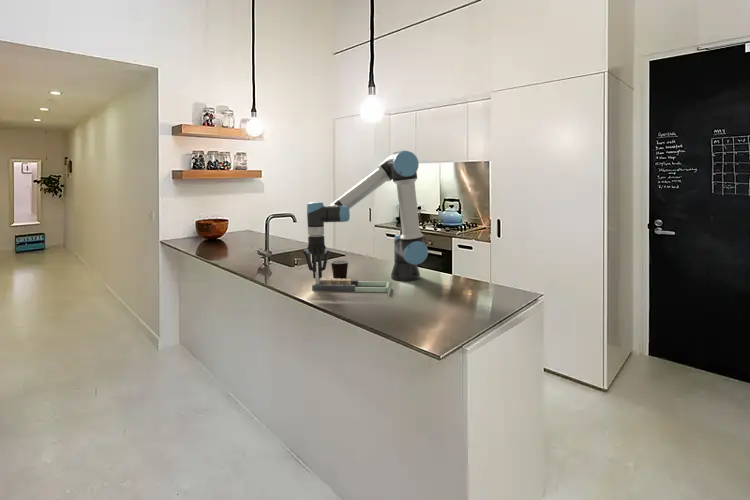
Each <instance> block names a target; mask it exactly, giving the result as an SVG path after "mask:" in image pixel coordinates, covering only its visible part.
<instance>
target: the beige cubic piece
mask: <svg viewBox="0 0 750 500" xmlns="http://www.w3.org/2000/svg"><path fill="white" fill-rule="evenodd" d="M351 280H352V279H351V278H347V279H342V280H341V285H351Z"/></svg>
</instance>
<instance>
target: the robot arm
mask: <svg viewBox="0 0 750 500" xmlns="http://www.w3.org/2000/svg"><path fill="white" fill-rule="evenodd" d="M419 165H420V163H419V159H418V157H417V155H416V154H415V153H413V152H411V151H409V150H400V151H396V152H393V153H391V154H390V155H389V156H387V158H386V159H385V160H384V161H383V162H381V163H380V164H378V166H377V169H375V170H374V171H373V172H371V173H370V174H369V175H367V176H366V177H365V178H364V179H362V180H360V181H359V182H358V183H357V184H356V185H354V186H353V187H352V188H350V189H349V190H348V191H346V192H345V193H344V194H342V195H341V196H340V197H339V198H337V199H336V200H334V202H331V203H329V204H328V205H326V206H325V205H324V203H323V201H311V202H308V203H307V204H306V205H307V206H306V220H307V235H308V237H307V241H308V243H307V244H308V245H307V248H306V249H304V250H303V251H302V253H303V255H304V256H305V261H306V264H307V267H308V270H309V271H311V272H312V276H313V279H315V284H320V280H321V279H323V278H322V277H323V271H325V270H326V268H327V263H328V259H329V255H330V253H331V249H328V248H327V247H326V245H325V244H326V243H325V242H326V241H325V223H345V222H349V221H350V216H351V215H350V209H352V208H353V207H355V206H356V205H357V204H358V203H360V202H361V201H362V200H363V199H365V198H366V197H367V196H369V195H370V194H372V193H373V192H374V191H376V190H377V189H378V188H380V187H381V186H383V185H384V184H385V183H386V182H391V181H392V183H394V184H395V185H396V191H397V199H398V208H399V209H398V210H399V214H400V216H399V217H400V218H399V219H400V225H401V232H402V234H396V235H394V239H393V243H394V247H393V248H394V251H393V252H394V255H393V257H394V258H393V260H394V263H393V266H392V270H391V272H390V278H391V279H392V280H395V281H398V282H399V281H401V282H402V281H404V282H411V281H417V280H420V278H421V273H420V270H419V267H418V265H419V264H422V263H424V261H425V260H426V259H427V257H428V255H429V250H428V247H427V245H426V244H425V238H424V237H425V235H424V234H423V233H422V232H421V230H420V222H419V221H420V220H419V219H420V218H419V211H418V201H417V193H416V192H417V191H416V184H415V183H416V181H417V180H418V172H417V171H418V170H419ZM323 253H324V257H323V259H322V255H323ZM310 254H311V257H310ZM311 259H312V260H311ZM322 260H323V262H322Z"/></svg>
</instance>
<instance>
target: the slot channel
mask: <svg viewBox="0 0 750 500" xmlns="http://www.w3.org/2000/svg"><path fill="white" fill-rule="evenodd" d="M322 280H323V279H320V284H316V283H313V284H312V285H311V290H312V291H313V292H314V291H317V292H320V291H321V292H323V291H324V292H327V291H329V292H355V287H359V285H358V281H359V279H351V285H340V284H322Z"/></svg>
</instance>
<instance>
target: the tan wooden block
mask: <svg viewBox="0 0 750 500" xmlns="http://www.w3.org/2000/svg"><path fill="white" fill-rule="evenodd" d="M341 280H342V279H339V278H333V277H332V284H340V285H341Z"/></svg>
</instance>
